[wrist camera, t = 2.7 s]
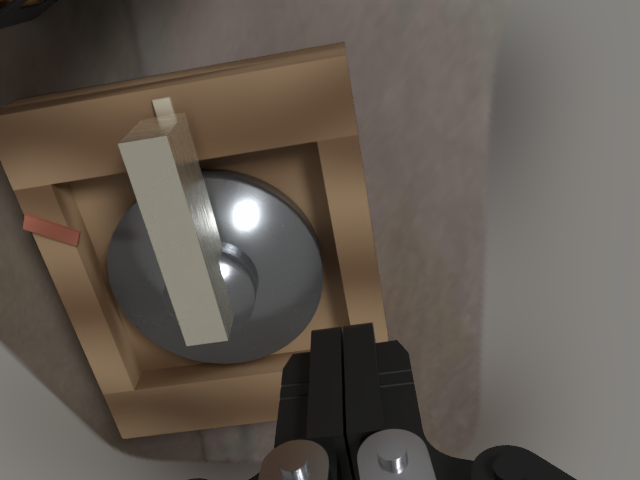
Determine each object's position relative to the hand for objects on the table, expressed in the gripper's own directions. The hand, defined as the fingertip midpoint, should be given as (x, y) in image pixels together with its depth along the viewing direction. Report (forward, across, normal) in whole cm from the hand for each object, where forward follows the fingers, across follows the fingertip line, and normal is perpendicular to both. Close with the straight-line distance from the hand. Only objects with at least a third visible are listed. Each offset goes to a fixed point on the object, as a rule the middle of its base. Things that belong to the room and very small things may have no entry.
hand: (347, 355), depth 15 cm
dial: (+13, +7, +3) cm, 15 cm away
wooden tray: (+15, +6, +4) cm, 17 cm away
